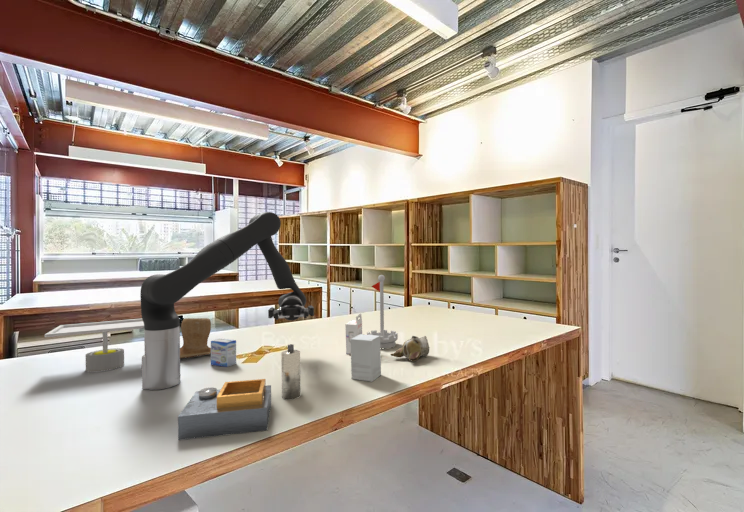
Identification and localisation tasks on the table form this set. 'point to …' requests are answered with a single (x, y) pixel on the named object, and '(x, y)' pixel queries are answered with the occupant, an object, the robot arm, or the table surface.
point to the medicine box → (223, 352)
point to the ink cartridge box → (352, 331)
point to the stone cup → (195, 337)
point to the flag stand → (385, 338)
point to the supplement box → (365, 357)
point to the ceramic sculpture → (413, 348)
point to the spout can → (291, 373)
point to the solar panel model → (105, 357)
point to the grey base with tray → (226, 410)
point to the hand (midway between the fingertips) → (291, 315)
